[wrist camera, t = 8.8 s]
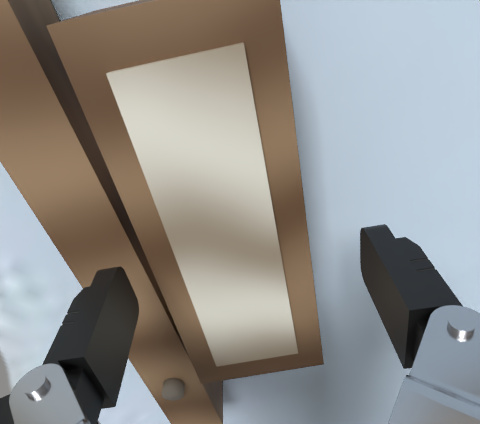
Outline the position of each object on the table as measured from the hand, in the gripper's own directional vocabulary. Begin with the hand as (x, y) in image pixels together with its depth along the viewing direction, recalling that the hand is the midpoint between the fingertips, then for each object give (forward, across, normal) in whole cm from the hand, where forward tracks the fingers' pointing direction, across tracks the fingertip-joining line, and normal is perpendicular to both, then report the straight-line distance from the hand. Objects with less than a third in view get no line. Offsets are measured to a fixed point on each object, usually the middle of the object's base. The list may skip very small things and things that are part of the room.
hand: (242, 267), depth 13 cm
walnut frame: (+6, +1, 0) cm, 6 cm away
